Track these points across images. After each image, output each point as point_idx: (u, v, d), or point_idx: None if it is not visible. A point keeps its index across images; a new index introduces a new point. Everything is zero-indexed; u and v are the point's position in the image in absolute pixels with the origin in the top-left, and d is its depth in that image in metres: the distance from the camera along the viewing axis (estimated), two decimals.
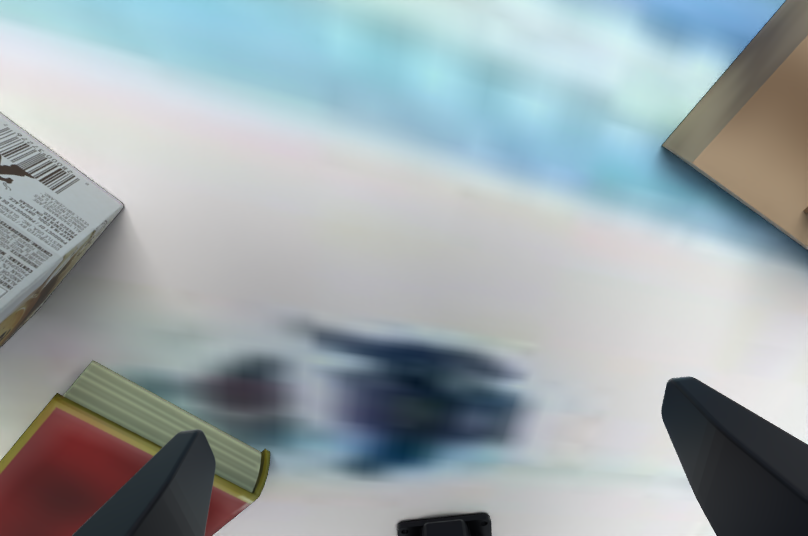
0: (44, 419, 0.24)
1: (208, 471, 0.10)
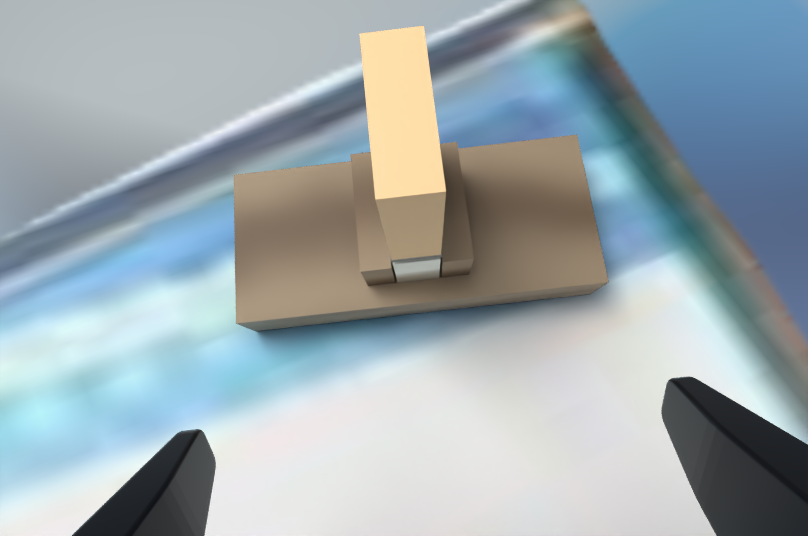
0: None
1: (208, 471, 0.10)
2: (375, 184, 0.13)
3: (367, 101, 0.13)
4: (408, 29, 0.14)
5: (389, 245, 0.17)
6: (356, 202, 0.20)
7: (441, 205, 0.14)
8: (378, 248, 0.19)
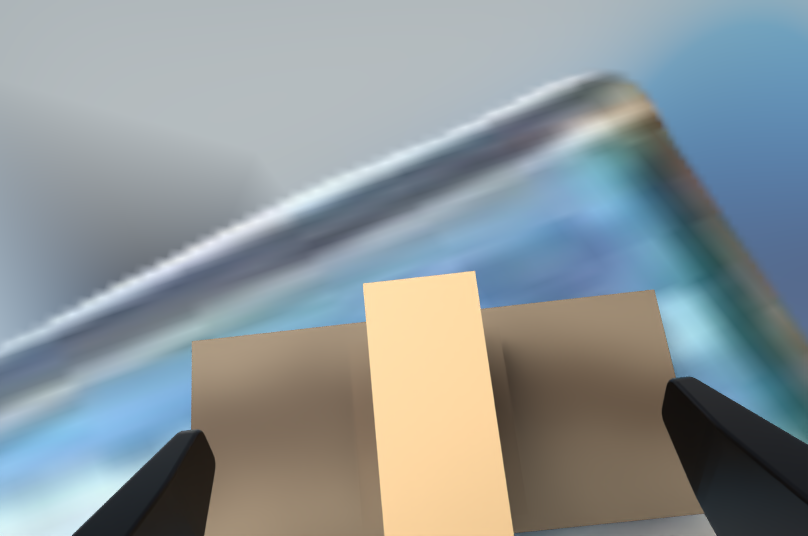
0: None
1: (208, 471, 0.10)
2: None
3: (377, 424, 0.07)
4: (447, 275, 0.08)
5: None
6: (357, 419, 0.14)
7: None
8: None
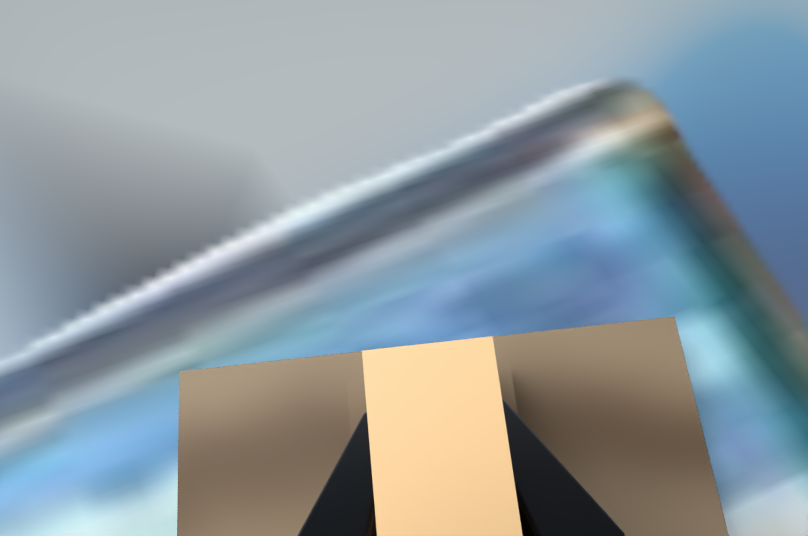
0: None
1: None
2: None
3: (379, 523, 0.06)
4: (461, 340, 0.07)
5: None
6: None
7: None
8: None
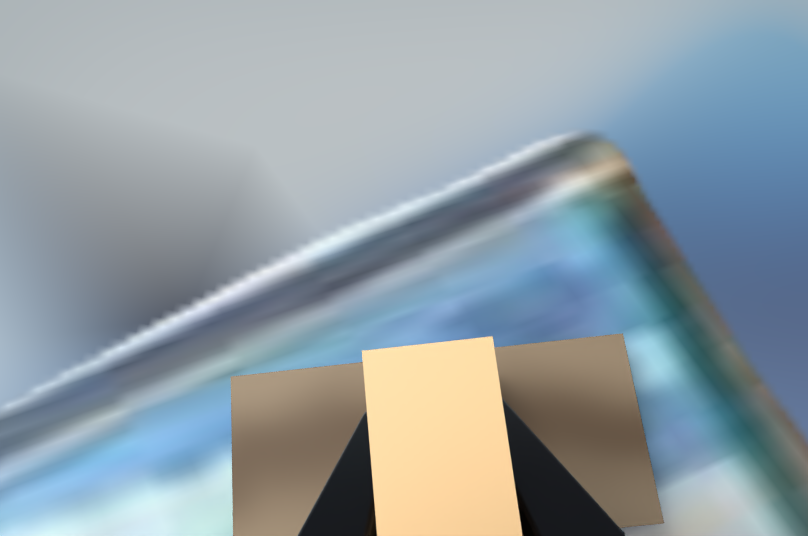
0: None
1: None
2: None
3: (379, 523, 0.06)
4: (461, 340, 0.07)
5: None
6: None
7: None
8: None
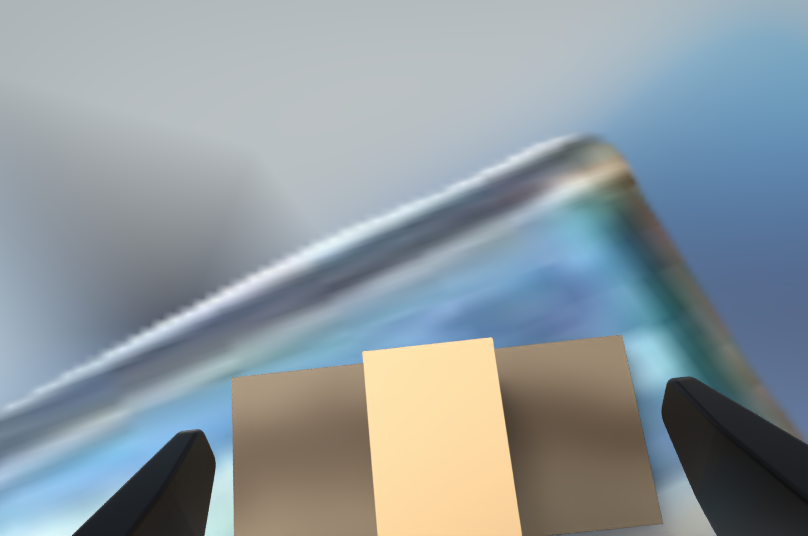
0: None
1: (208, 471, 0.10)
2: None
3: (379, 523, 0.06)
4: (461, 341, 0.07)
5: None
6: None
7: None
8: None
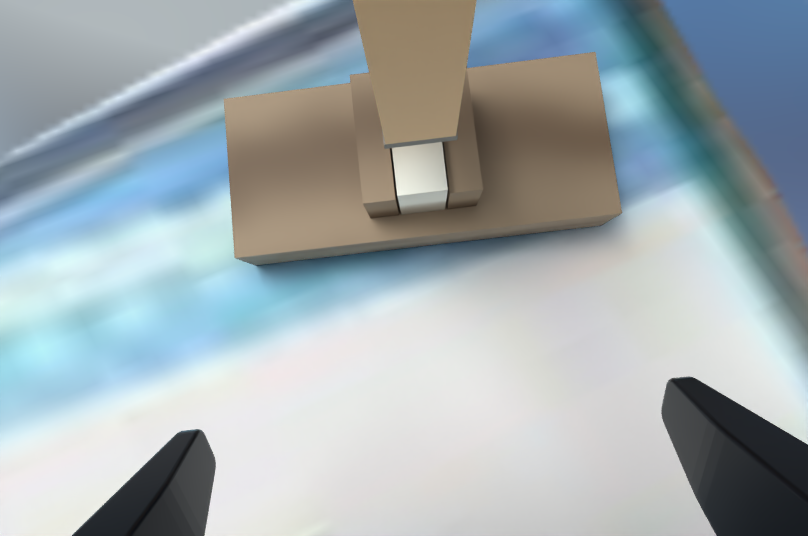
0: None
1: (208, 471, 0.10)
2: None
3: None
4: None
5: (381, 115, 0.11)
6: (357, 128, 0.19)
7: (467, 22, 0.08)
8: (381, 179, 0.18)
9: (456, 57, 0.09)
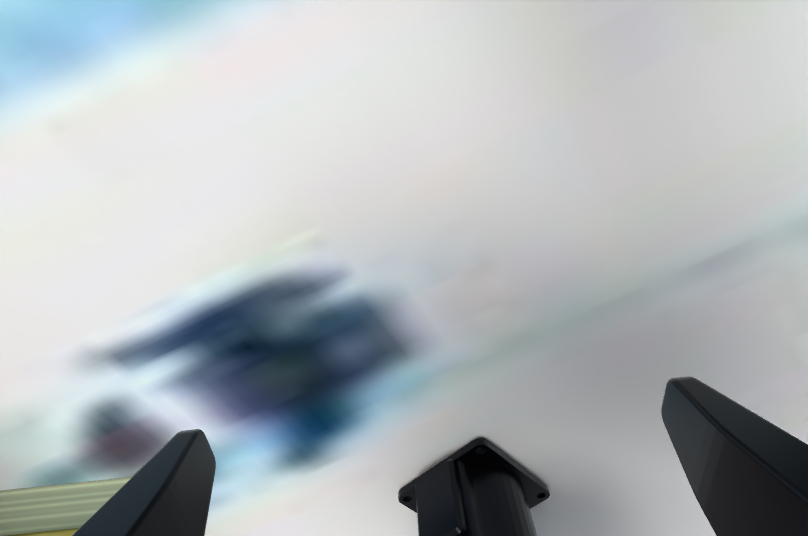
0: None
1: (208, 471, 0.10)
2: None
3: None
4: None
5: None
6: None
7: None
8: None
9: None
